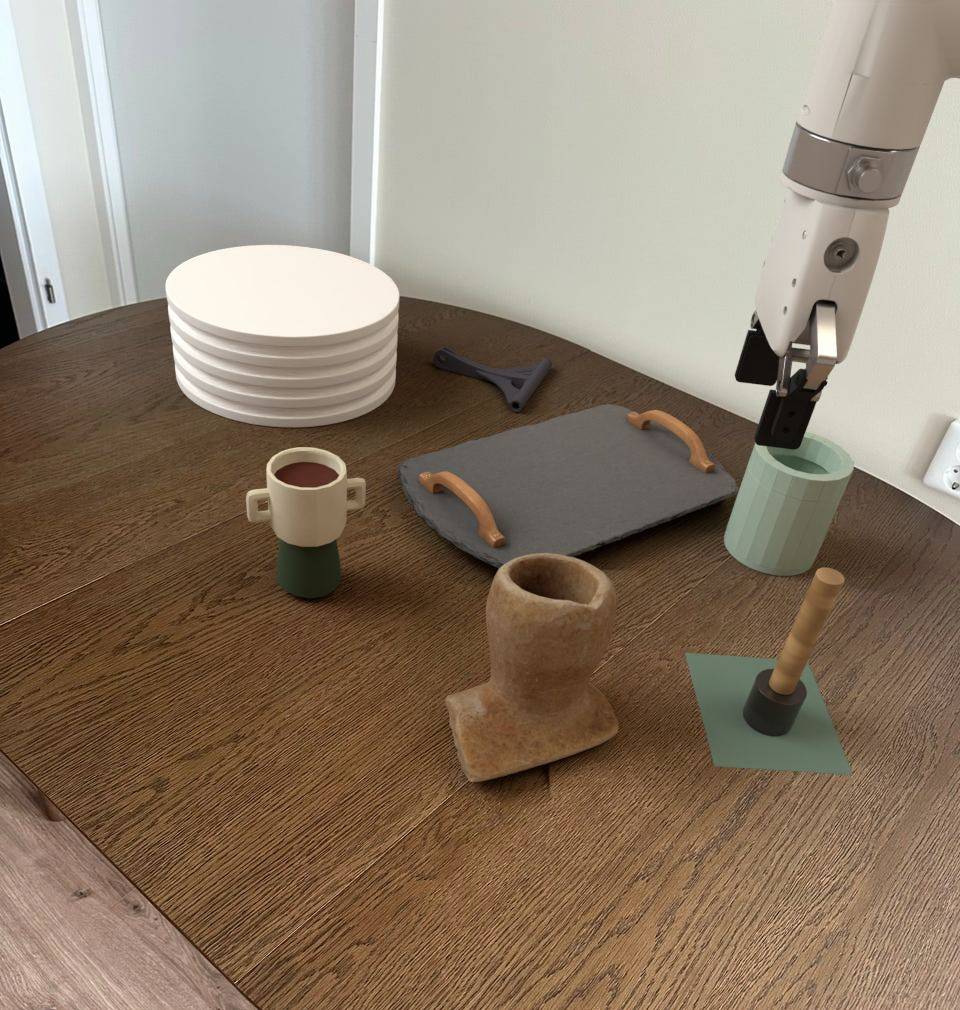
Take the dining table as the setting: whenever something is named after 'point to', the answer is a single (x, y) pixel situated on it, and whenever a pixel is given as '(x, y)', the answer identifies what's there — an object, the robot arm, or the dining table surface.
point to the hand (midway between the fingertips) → (764, 412)
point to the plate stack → (283, 334)
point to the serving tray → (564, 483)
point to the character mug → (307, 516)
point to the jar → (787, 505)
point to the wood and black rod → (792, 661)
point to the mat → (740, 746)
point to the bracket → (498, 375)
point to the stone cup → (538, 669)
